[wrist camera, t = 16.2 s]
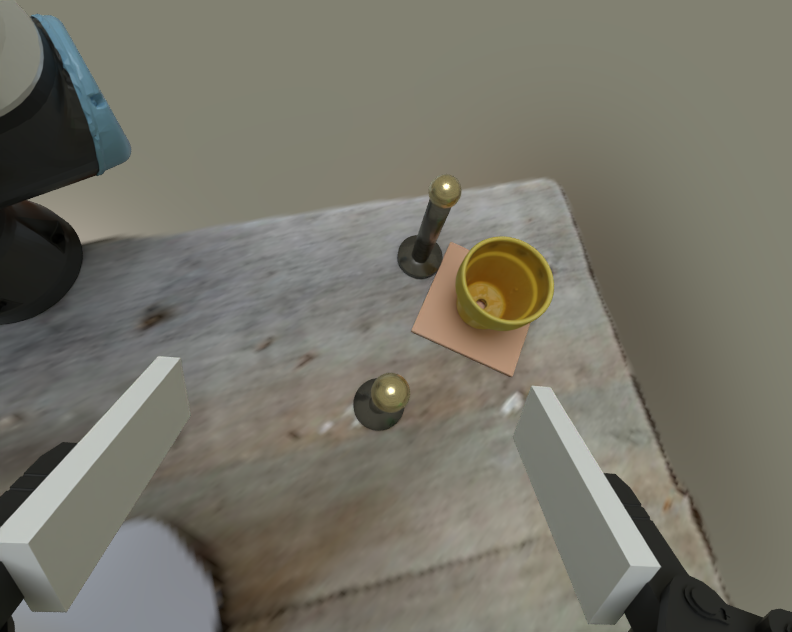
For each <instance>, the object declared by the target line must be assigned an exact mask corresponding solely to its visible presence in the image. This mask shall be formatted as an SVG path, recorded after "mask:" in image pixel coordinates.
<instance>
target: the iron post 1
mask: <svg viewBox="0 0 792 632" xmlns="http://www.w3.org/2000/svg"><path fill="white" fill-rule="evenodd" d="M409 398H410V388H409V385H408V383H407V381H406V380H405V379H404V378H403V377H402V376H400V375H398V374H395V373H386V374H383V375H381V376H379V377H378V378H376V379H371V380H369V381H367V382H365V383H364V384H363V385H362V386H361V387H360V388H359V389H358V391H357V392H356V395H355V398H354V412H355V415H356V417H357V419H358V420H359V421H360V423H361V424H362V425H364V426H365V427H367V428H369V429H372V430H385V429H388V428H390V427H392V426H394V425H395V424H396V423H397V422H398V421H399V419H400V418H401V416H402V414H403V411H404V407H405V406H406V404H407V403H408V401H409Z"/></svg>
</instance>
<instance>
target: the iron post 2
mask: <svg viewBox="0 0 792 632" xmlns="http://www.w3.org/2000/svg"><path fill="white" fill-rule="evenodd" d="M460 196H461V185H460V183H459V181H458V180H457V179H456V178H455V177H454V176H451V175H448V174H444V175H440V176H438V177H436V178H435V179H434V180H433V181H432V183H431V184H430V187H429V197H430V200H429V203H428V206H427V209H426V212H425V215H424V218H423V221H422V224H421V227H420V230H419V233H418V235H415V236H411V237H409V238H407V239H405V240H404V241H403V242H402V244H401V245H400V247H399V251H398V256H397V259H398V264H399V266H400V268H401V269H402V270H403V272H404V273H406V274H407V275H409V276H410V277H413V278H417V279H424V278H428V277H430V276H432V275H433V274H435V273H436V272H437V270H438V269H439V267H440V265H441V262H442V251H441V249H440V247H439V245H438V244H437V243H436V241H437V239H438V236H439V234H440V232H441V230H442V227H443V225H444V223H445V221H446V218H447V216H448V214H449V212H450V209H451V207H452V206H454V205H455V204H456V203H457V202H458V201H459V199H460Z"/></svg>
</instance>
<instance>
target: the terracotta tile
mask: <svg viewBox="0 0 792 632" xmlns="http://www.w3.org/2000/svg"><path fill="white" fill-rule="evenodd" d="M469 251H470V250H468V249H466V248H463V247H461V246H459V245H457V244H454V243H452V242H450V244H449V246H448V249H447V251H446V253H445V255H444V258H443V260H442V262H441V265H440V267H439V269H438V271H437V273H436V276H435V278H434V280H433V283H432V285H431V287H430V289H429V292H428V294H427V296H426V298H425V301H424V303H423V305H422V307H421V310H420V312H419V314H418V316H417V319H416V321H415V323H414V325H413V328H412V330H411V332H413V333H415V334H417V335H420V336H422V337H424V338H426V339H428V340H431V341H433V342H435V343H437V344H439V345H442V346H444V347H446V348H448V349H450V350H452V351H455V352H457V353H459V354H461V355H463V356H466V357H468V358H470V359H472V360H474V361H477V362H479V363H481V364H483V365H485V366H488V367H490V368H492V369H494V370H496V371H499V372H501V373H503V374H505V375H507V376H510V377H512V376H513V373H514V370H515V367H516V364H517V361H518V358H519V355H520V352H521V349H522V346H523V343H524V340H525V337H526V334H527V331H528V328H529V325H530V323H529V324H527V325H525V326H523V327H521V328H518V329H515V330H510V331H496V330H492V329H476V328H473V327H471V326H469V325H468V324H466V323H465V322H464V321H463V320H462V318H461V317H460V315H459V313H458V310H457V306H456V301H457V294H456V288H455V281H456V275H457V272H458V269H459V267H460V265H461V263H462V261H463V260H464V258H465V256H466V255H467V253H468V252H469ZM476 303H477V304H478V305H479V306H480V307H481V308H482V309H484V308H485V303H484V302H483V301H477V302H476Z"/></svg>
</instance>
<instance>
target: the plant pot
mask: <svg viewBox="0 0 792 632" xmlns="http://www.w3.org/2000/svg"><path fill="white" fill-rule="evenodd" d="M455 288H456V294H457V301H456V306H457V310H458V313H459V315H460V317H461V318H462V320H463V321H464V322H465V323H466V324H468V325H469V326H471V327H473V328H476V329H492V330H496V331H510V330H515V329H518V328H521V327H523V326H525V325H527V324H529V323H531V322H532V321H534V320H536V319H537V318H539V317H540V316H541V315H542V314H543V313H544V312H545V311H546V310H547V308H548V307H549V305H550V303H551V300H552V297H553V293H554V280H553V275H552V272H551V269H550V267H549V265H548V263H547V261H546V260H545V258H544V257H543V256H542V255H541V254H540V253H539V252H538V251H537V250H536V249H535V248H534V247H532V246H531V245H529V244H528V243H526V242H523V241H521V240H519V239H515V238H511V237H492V238H489V239H486V240H483V241H481V242H479V243H478V244H476V245H475V246H474V247H473V248H472V249H471V250H470V251H469V252H468V253H467V255H466V256H465V258H464V260H463V261H462V263H461V265H460V267H459V269H458V272H457V275H456V281H455ZM477 301H483V302H484V303H485V308H484V309H482V308H481V307H480V306H479V305H478V304H477V303H476V302H477Z"/></svg>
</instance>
